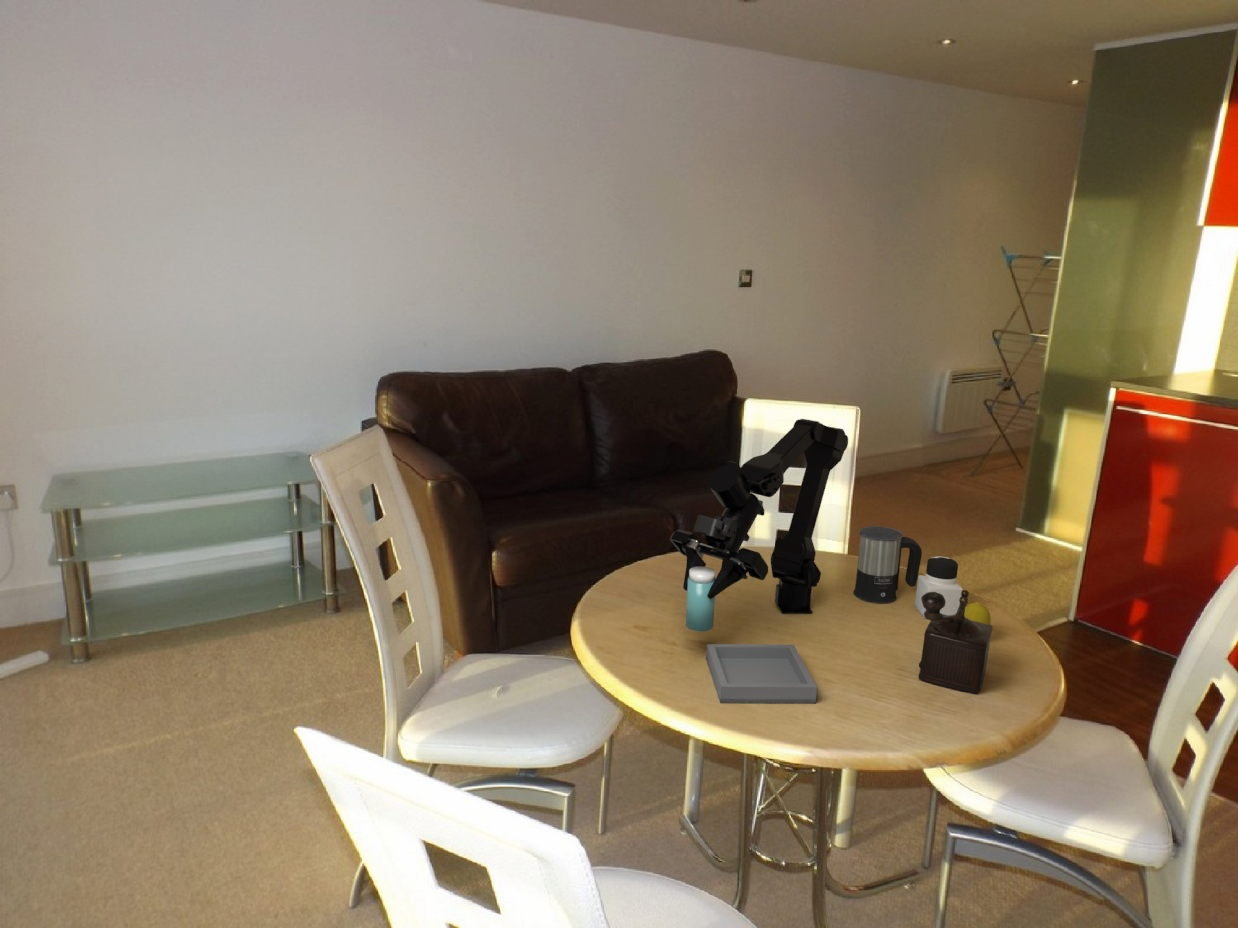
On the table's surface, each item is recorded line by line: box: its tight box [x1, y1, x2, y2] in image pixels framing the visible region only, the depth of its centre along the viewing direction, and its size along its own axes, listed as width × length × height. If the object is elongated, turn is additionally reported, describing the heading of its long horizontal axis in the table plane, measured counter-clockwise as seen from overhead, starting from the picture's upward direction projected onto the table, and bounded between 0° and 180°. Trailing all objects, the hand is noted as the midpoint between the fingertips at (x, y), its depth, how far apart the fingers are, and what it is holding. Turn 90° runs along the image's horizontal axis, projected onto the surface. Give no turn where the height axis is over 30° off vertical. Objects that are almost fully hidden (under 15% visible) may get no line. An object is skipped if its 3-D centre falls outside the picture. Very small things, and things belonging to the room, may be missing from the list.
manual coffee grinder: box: [918, 589, 994, 696], centre depth 155 cm, size 16×11×18 cm
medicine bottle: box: [914, 556, 964, 620], centre depth 185 cm, size 7×7×12 cm
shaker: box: [685, 566, 716, 632], centre depth 159 cm, size 5×5×10 cm
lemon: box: [964, 601, 992, 625], centre depth 173 cm, size 6×6×8 cm
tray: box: [705, 643, 818, 705], centre depth 154 cm, size 16×16×3 cm
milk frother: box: [852, 525, 923, 604], centre depth 197 cm, size 14×16×15 cm
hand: (696, 593), depth 158 cm, fingers closed on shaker, 5 cm apart
